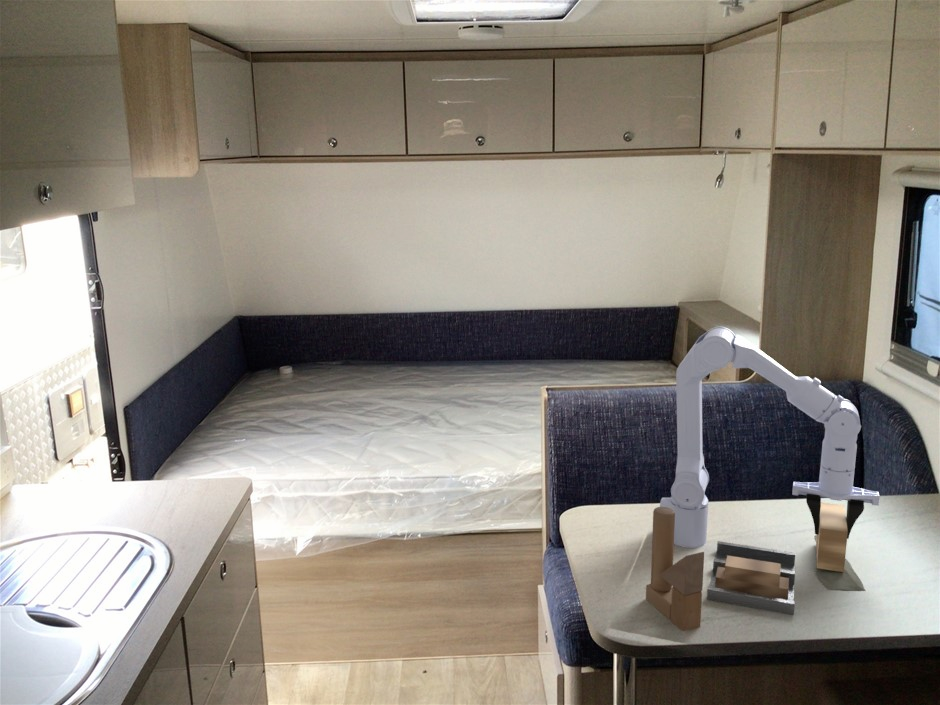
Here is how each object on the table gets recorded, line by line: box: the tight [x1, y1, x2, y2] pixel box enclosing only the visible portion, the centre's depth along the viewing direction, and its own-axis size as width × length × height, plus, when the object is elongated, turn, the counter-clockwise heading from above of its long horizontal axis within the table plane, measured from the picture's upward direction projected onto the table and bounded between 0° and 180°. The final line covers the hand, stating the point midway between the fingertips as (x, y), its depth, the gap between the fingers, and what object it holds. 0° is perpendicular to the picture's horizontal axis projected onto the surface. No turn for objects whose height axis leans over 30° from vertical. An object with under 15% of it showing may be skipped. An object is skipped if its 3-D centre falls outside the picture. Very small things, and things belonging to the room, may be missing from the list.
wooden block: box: [645, 506, 705, 632], centre depth 132 cm, size 4×11×18 cm, turn 22°
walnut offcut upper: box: [725, 555, 781, 588], centre depth 139 cm, size 9×4×2 cm, turn 68°
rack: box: [706, 540, 796, 616], centre depth 143 cm, size 14×19×3 cm
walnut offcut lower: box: [715, 567, 789, 600], centre depth 140 cm, size 12×4×2 cm, turn 68°
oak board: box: [815, 502, 848, 572], centre depth 149 cm, size 12×4×8 cm, turn 158°
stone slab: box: [813, 534, 866, 592], centre depth 150 cm, size 22×3×10 cm
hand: (831, 534), depth 149 cm, fingers closed on oak board, 4 cm apart
